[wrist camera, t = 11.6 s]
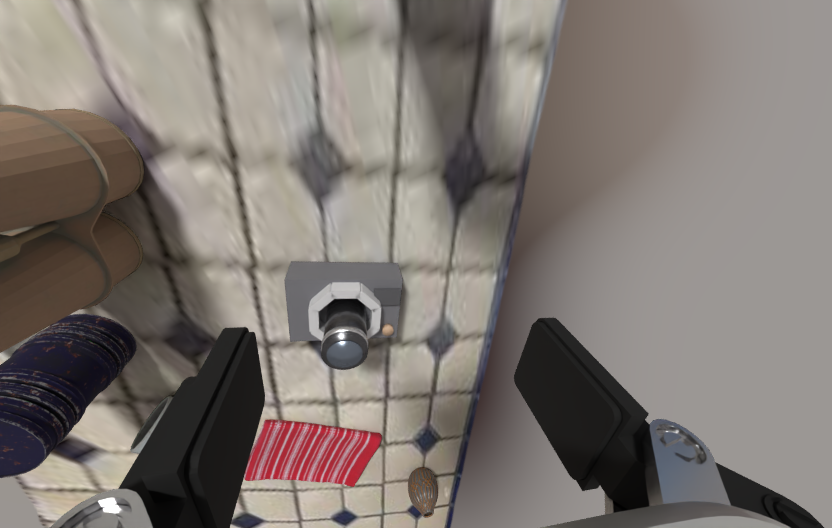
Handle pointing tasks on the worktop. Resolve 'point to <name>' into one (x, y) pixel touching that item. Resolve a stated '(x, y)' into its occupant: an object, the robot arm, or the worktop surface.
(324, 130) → the worktop surface
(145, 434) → the ceramic mug
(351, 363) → the lens
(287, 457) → the dish towel
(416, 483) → the vase
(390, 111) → the worktop surface
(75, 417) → the storage jar
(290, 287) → the camera body
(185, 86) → the worktop surface
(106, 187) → the binoculars
